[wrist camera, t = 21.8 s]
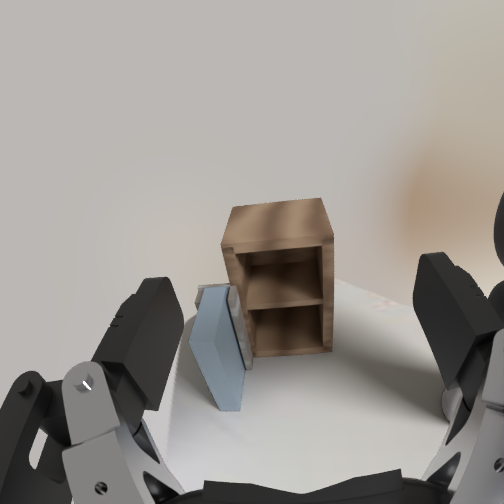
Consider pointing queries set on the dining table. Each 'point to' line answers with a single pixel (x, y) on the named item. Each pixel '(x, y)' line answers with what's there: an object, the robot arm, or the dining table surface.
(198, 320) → the door
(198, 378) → the dining table surface
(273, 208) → the cabinet
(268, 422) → the dining table surface
